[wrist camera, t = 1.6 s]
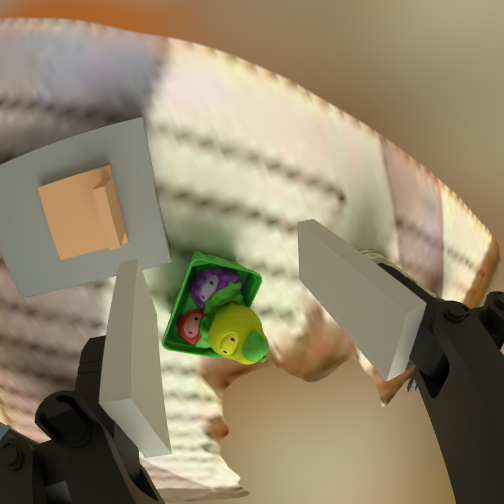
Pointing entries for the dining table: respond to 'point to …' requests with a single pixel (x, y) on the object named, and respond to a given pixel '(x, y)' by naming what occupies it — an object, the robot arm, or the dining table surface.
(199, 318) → the fruit basket
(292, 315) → the dining table surface
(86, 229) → the tan plate with tab
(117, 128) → the socket
